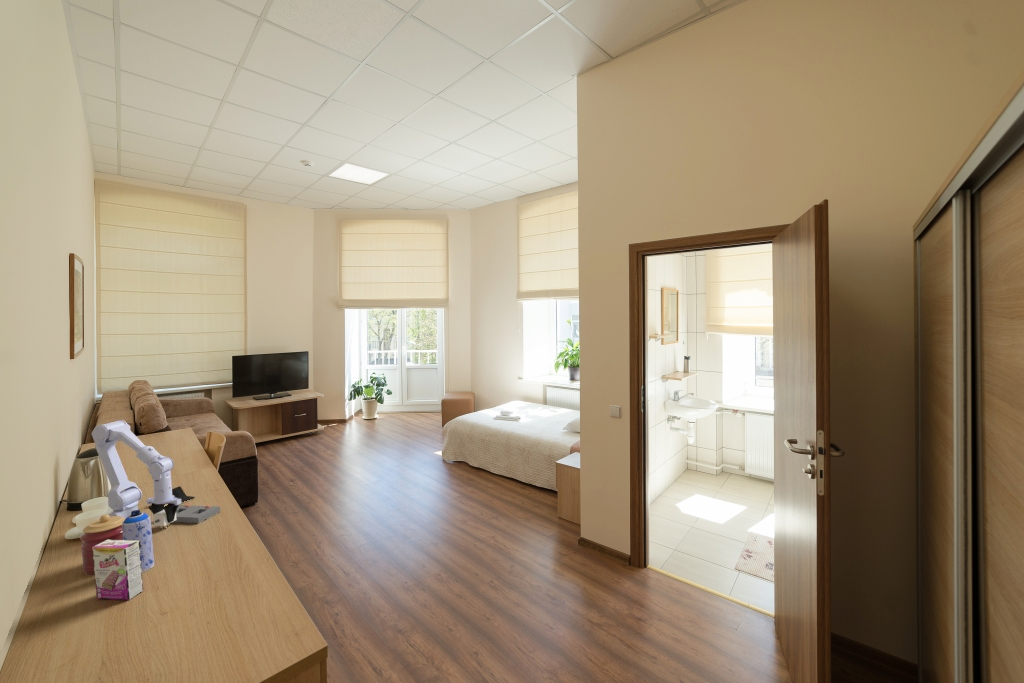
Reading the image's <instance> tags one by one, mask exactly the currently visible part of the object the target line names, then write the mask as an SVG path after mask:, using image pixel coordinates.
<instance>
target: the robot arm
mask: <svg viewBox="0 0 1024 683" xmlns="http://www.w3.org/2000/svg"><path fill="white" fill-rule="evenodd" d="M91 436H92V437H91V438H93V441H94V446H95V447H94V448H95V450H96V452H97V455H98V457H99V459H100V462H101V465H102V468H103V469H104V471H105V474H106V476H107V479H108V482H109V484H110V486H111V488H110V490H108V492H107V494H106V496H107V503H108V506H109V508H110V509H111V510H112V512H110V513H108V515H109V516H110V517H111V516H120V517H124V518H127V517H129V516H130V515H131V511H134V510H139V505H138V504H139V503H140V501H141V499H142V497H143V492H142V490H141V489H140V487H138V485H137V483H136V482H135V481H134V482H133V481H130V480H129V478H128V475H127V473H126V470H125V469H124V468H125V467H124V466H123V464H122V460H121V458H120V456H119V452H118V451H117V449H116V444H117V443H118V441H120V442H122V443H123V444H125V445H126V446H127V447H129V448H130V449H131V450H133V451H134V452H136V457H137V459H138V460H140V461H141V462H142V463H143V464H144V465H145V466H147V467H148V469H147V470H148V473H149V474H150V475H151V479H152V480H153V481H152V482H153V494H154V495H153V496H154V497H149V498H146V505H149V506H148V508H147V509H149V510H150V512H151V513H152V514H153V515H154V514H156V513H158V512H160V511H162V510H165V513H166V516H167V521H168V523H170V522H171V523H173V522H172V521H174V517H175V513H176V510H177V508H178V506H179V505H182V504H181V499H178V498H175V497H174V495H172V489H173V487H172V486H173V485H172V483H173V482H172V471H171V470H172V469H173V468H174V467H175V463H174V460H173V459H172V458H171V457H169V456H165V455H162V454H161V453H159V452H158V451H157V449H155V447H154V446H151V445H145V444H144V443H143V442H142V440H141V439H139V438H138V437H137V435H136V434H134V432H133V431H131V425H130V424H128V423H127V421H126V420H123V419H119V420H116V421H112V422H108V423H104V424H98V425H96V426H95V427H94V429H93V430H92V431H91ZM164 504H168V505H167V506H165V507H164ZM153 515H152V516H153ZM171 523H170V524H171Z"/></svg>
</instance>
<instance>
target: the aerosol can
mask: <svg viewBox="0 0 1024 683" xmlns="http://www.w3.org/2000/svg"><path fill="white" fill-rule="evenodd" d="M151 518H152V517H151V516H150V515H149V514H147V513H146V512H145V513H144V512H141V510H140V509H138V510H134V511H131V515H130V516H129V517H127V518H126V519H125V520H124V521H123V522H122V532H123V540H137V541H139V546H140V559H141V571H142V573H144V572H143V571H145V572H147V571H149V570H151V569H152V568H154V567H153V566H155V565H154V564H156V563H155V557H154V545H153V534H152V533H153V532H152V519H151ZM150 568H151V569H150ZM148 569H149V570H148ZM146 570H147V571H146Z"/></svg>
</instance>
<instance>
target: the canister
mask: <svg viewBox="0 0 1024 683" xmlns="http://www.w3.org/2000/svg"><path fill="white" fill-rule="evenodd" d="M108 514H109V513H108ZM108 514H102V515H100V517H99V519H97V520H94V521H92V522H90V523H89V524H88V525H87V526H85V527H84V528H83V529H82V532H83V533H82V534H81V535H80V537H79V539H80V541H81V542H82V545H81V546H80V550H81V557H82V565H81V566H82V570H83V573H84V572H85V574H86V573H87V574H86V575H95V571H94V561H93V550H92V547H93V546H95V545H97V544H99V543H101V542H103V541H105V540H123V532H122V522H123V521H124V520H125V519H126V518H124V517H120V516H111V517H110V516H109V515H108Z"/></svg>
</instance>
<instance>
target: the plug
mask: <svg viewBox="0 0 1024 683" xmlns="http://www.w3.org/2000/svg"><path fill="white" fill-rule="evenodd" d="M152 517H153V526H154V527H160V528H162V529H165V528H167V529H168V527H170V526H171V523H174V522H173V521H172V522H170V523H168V521H167V516H166V513H165V510H164V509H163V510H162V511H160V512H158V513H156V514H154V515H152ZM176 520H177V518H176V513H175V517H174V521H176ZM169 525H170V526H169ZM167 526H168V527H167Z"/></svg>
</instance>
